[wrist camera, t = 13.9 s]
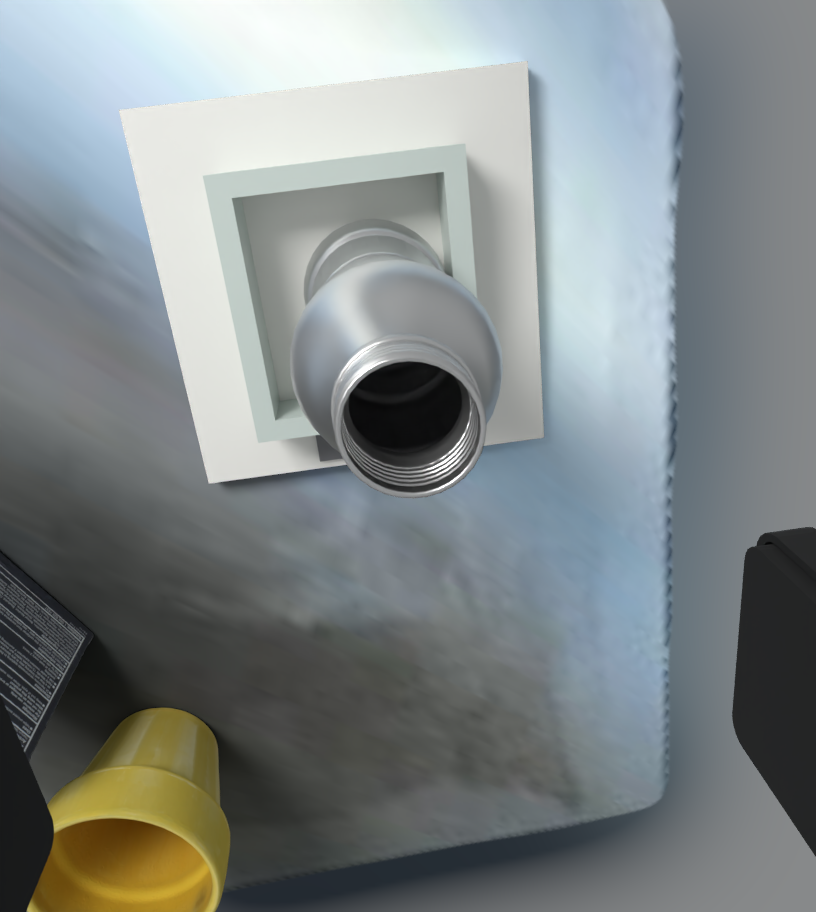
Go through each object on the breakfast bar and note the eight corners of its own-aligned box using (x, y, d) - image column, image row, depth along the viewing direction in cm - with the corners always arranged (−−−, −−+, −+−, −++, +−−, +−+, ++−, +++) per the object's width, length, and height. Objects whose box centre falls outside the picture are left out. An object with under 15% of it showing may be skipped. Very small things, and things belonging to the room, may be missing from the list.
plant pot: (47, 766, 46) (-24, 914, 37) (130, 654, 44) (76, 784, 35) (191, 829, 50) (158, 980, 40) (277, 728, 47) (262, 866, 38)
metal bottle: (370, 183, 34) (404, 220, 16) (470, 286, 36) (604, 427, 18) (277, 285, 35) (207, 431, 17) (379, 378, 38) (415, 597, 19)
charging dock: (125, 111, 33) (97, 105, 29) (522, 63, 33) (544, 52, 30) (212, 475, 40) (198, 508, 36) (539, 431, 40) (559, 459, 37)
